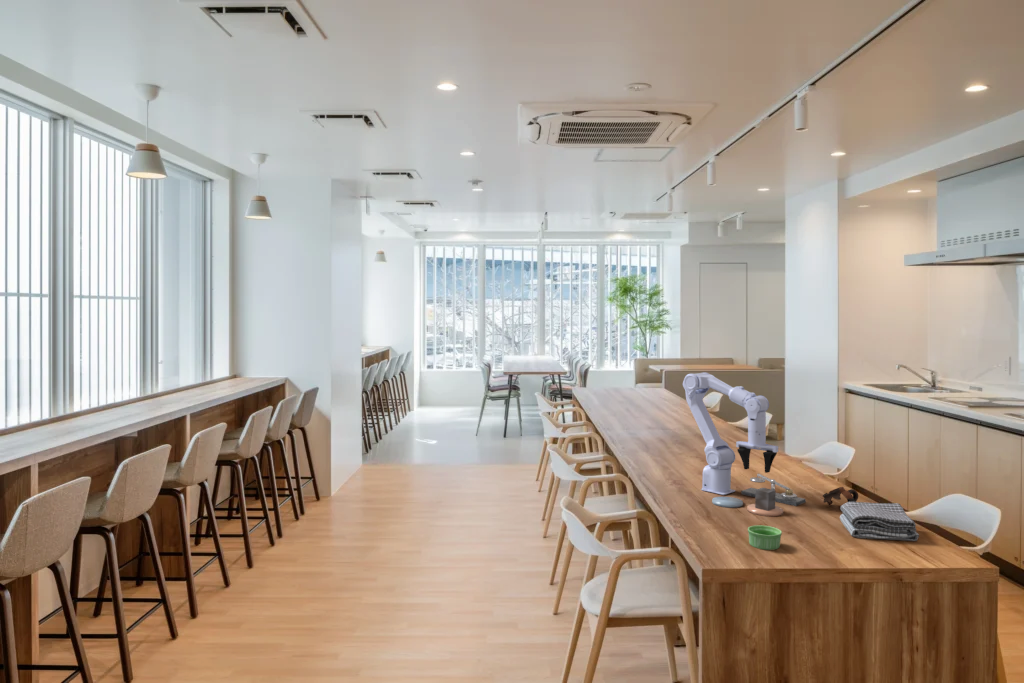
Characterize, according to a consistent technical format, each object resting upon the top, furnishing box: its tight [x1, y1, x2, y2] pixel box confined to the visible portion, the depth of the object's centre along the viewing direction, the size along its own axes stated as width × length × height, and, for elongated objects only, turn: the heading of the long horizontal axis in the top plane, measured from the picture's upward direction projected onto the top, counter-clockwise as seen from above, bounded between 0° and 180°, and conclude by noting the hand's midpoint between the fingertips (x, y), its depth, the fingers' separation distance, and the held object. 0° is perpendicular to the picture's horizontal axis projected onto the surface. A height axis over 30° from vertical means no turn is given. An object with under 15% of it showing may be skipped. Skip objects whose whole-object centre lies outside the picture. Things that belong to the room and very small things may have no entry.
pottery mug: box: [822, 486, 859, 506], centre depth 232 cm, size 12×10×8 cm
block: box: [754, 487, 777, 511], centre depth 228 cm, size 4×4×6 cm
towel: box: [839, 501, 920, 542], centre depth 207 cm, size 15×18×8 cm
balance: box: [740, 472, 807, 507], centre depth 244 cm, size 20×7×8 cm, turn 43°
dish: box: [746, 503, 784, 517], centre depth 228 cm, size 11×11×1 cm
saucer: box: [711, 496, 744, 509], centre depth 237 cm, size 10×10×1 cm
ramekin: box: [747, 524, 783, 551], centre depth 195 cm, size 9×9×4 cm
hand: (756, 470), depth 240 cm, fingers open, 7 cm apart
